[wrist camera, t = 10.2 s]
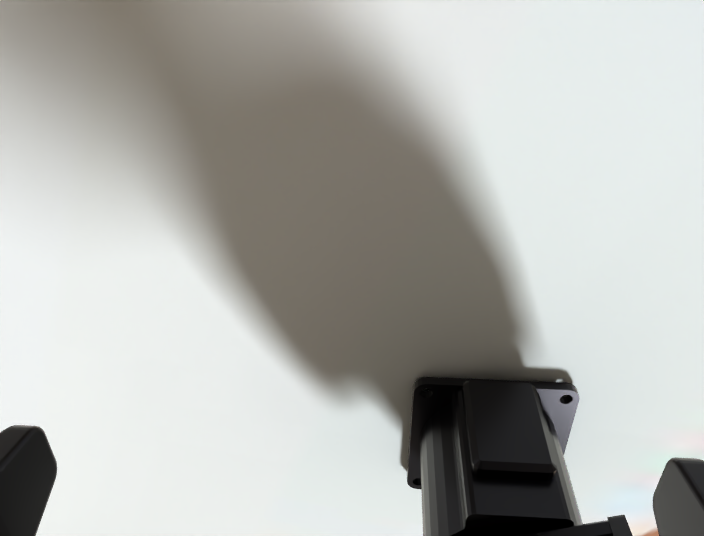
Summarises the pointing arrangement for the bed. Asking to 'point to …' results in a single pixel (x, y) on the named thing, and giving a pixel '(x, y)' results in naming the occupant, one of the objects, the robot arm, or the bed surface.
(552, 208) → the bed surface
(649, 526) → the bed surface
